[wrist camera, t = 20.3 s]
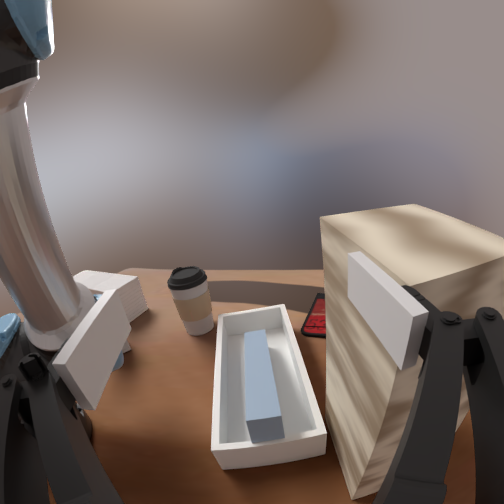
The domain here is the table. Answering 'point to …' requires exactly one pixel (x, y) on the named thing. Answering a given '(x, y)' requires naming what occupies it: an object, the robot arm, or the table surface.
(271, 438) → the block
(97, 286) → the stack of papers
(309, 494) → the table surface
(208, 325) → the coffee cup
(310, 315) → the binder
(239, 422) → the tray
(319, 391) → the table surface
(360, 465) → the beige tall box
